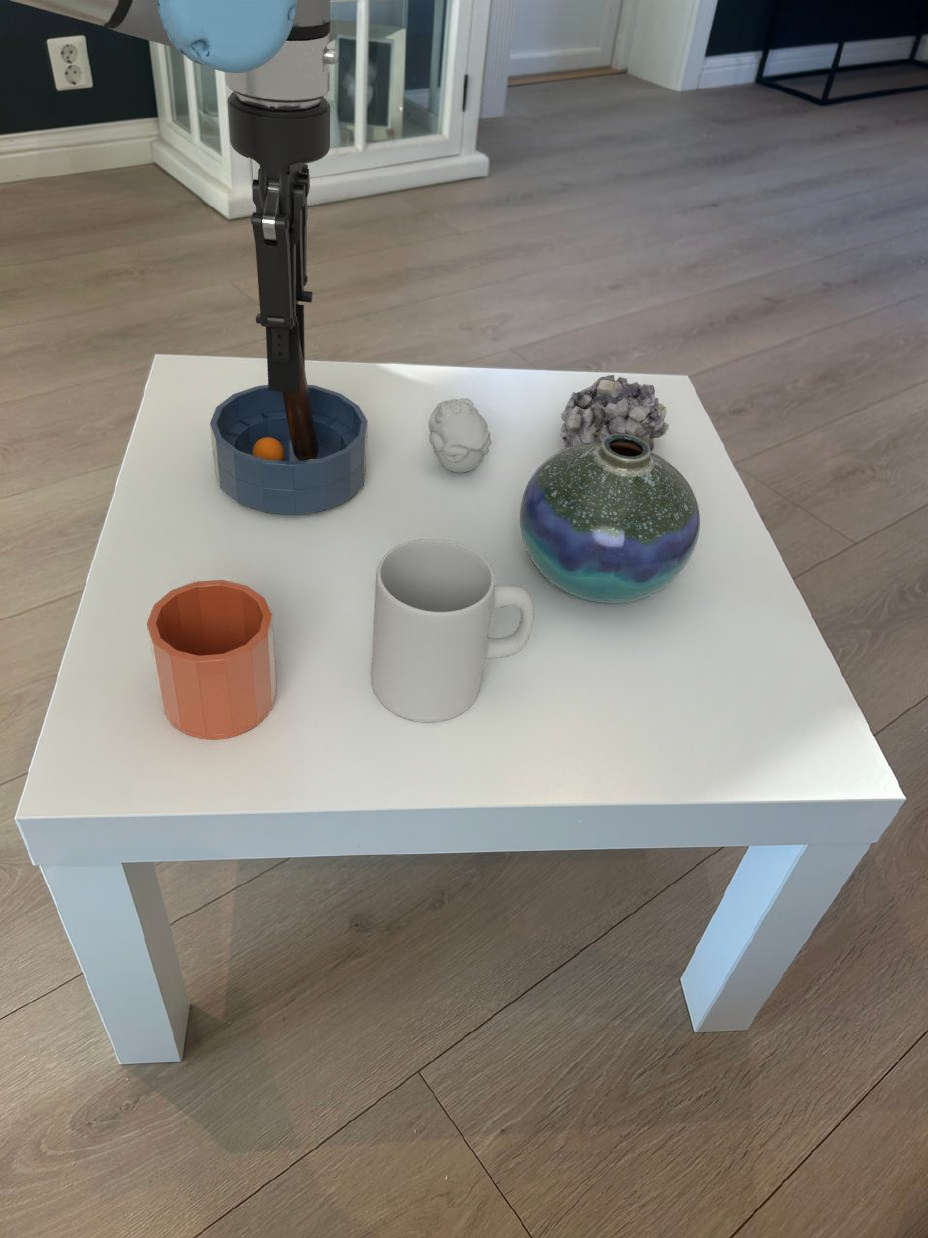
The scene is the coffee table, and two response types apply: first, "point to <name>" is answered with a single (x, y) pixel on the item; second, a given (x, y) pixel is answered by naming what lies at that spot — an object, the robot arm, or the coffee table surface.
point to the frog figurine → (458, 435)
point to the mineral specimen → (613, 412)
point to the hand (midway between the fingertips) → (286, 380)
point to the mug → (438, 628)
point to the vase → (609, 520)
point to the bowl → (289, 452)
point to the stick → (301, 419)
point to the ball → (268, 449)
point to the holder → (213, 658)
